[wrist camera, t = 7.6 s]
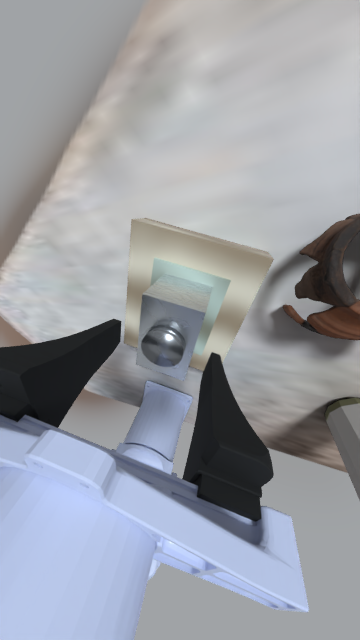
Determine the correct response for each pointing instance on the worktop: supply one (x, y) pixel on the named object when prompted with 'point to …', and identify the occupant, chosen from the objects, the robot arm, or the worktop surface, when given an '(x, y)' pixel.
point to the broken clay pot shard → (330, 284)
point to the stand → (195, 280)
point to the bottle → (347, 435)
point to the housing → (171, 324)
